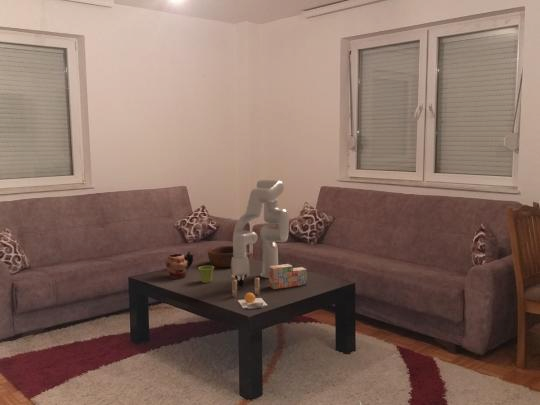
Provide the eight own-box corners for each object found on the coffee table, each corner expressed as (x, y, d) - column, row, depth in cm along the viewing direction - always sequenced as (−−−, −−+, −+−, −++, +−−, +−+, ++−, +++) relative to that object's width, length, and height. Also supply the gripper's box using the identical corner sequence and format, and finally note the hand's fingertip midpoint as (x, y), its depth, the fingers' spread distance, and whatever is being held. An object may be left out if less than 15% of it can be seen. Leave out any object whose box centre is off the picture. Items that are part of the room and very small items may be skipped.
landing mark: (261, 298, 298) (261, 297, 298) (267, 305, 285) (267, 305, 285) (237, 300, 294) (237, 300, 294) (243, 308, 282) (243, 307, 282)
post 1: (236, 295, 303) (236, 279, 302) (237, 297, 301) (237, 280, 299) (231, 296, 302) (231, 280, 301) (232, 297, 300) (232, 281, 299)
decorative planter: (159, 275, 349) (158, 253, 347) (176, 271, 357) (175, 250, 355) (176, 281, 334) (175, 258, 332) (193, 277, 341) (192, 255, 340)
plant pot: (211, 284, 327) (211, 269, 326) (196, 283, 329) (196, 269, 328) (216, 279, 336) (216, 265, 335) (201, 279, 338) (201, 265, 337)
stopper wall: (262, 306, 284) (262, 301, 284) (263, 307, 283) (263, 302, 282) (247, 308, 282) (247, 303, 281) (248, 308, 280) (247, 304, 280)
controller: (194, 266, 369) (194, 252, 368) (179, 270, 361) (178, 255, 359) (190, 265, 372) (190, 251, 371) (175, 268, 364) (174, 254, 362)
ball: (256, 301, 286) (254, 304, 291) (255, 290, 289) (253, 294, 294) (245, 301, 285) (244, 305, 290) (244, 291, 288) (243, 294, 292)
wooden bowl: (250, 261, 381) (250, 247, 380) (235, 270, 358) (235, 254, 357) (218, 259, 390) (217, 244, 389) (201, 267, 367) (200, 252, 365)
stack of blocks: (302, 282, 329) (302, 261, 327) (307, 284, 323) (307, 264, 321) (269, 286, 320) (269, 265, 319) (273, 289, 315) (273, 268, 313)
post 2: (258, 293, 307) (258, 277, 305) (260, 294, 304) (259, 278, 303) (254, 293, 306) (254, 278, 305) (255, 295, 303) (255, 279, 302)
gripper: (251, 252, 319) (251, 283, 321) (225, 254, 315) (226, 285, 317) (254, 255, 312) (255, 287, 314) (228, 257, 307) (229, 289, 310)
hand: (240, 286), depth 315 cm, fingers closed
